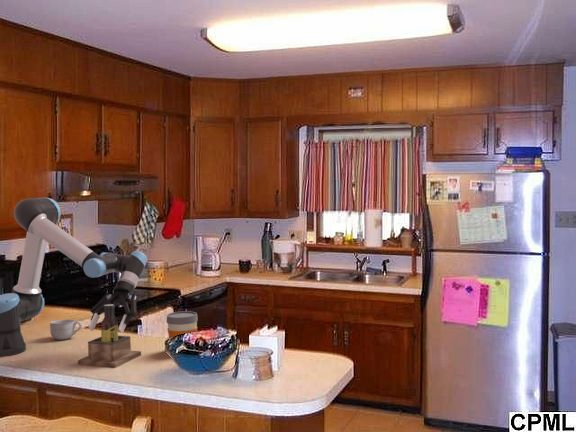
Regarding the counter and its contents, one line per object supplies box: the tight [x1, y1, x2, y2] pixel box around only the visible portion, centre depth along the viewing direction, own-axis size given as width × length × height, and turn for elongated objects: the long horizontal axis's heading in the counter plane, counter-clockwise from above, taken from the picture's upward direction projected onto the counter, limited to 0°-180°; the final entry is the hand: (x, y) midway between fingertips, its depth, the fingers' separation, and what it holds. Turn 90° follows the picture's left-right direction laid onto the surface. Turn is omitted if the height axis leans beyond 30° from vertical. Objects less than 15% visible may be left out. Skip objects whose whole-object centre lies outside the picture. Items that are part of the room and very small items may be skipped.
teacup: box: [49, 319, 83, 340], centre depth 278 cm, size 14×11×8 cm
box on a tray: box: [77, 335, 142, 368], centre depth 242 cm, size 17×17×8 cm
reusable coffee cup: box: [166, 310, 199, 339], centre depth 252 cm, size 13×13×15 cm
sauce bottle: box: [100, 304, 119, 343], centre depth 242 cm, size 7×6×20 cm
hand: (105, 330), depth 240 cm, fingers open, 13 cm apart
